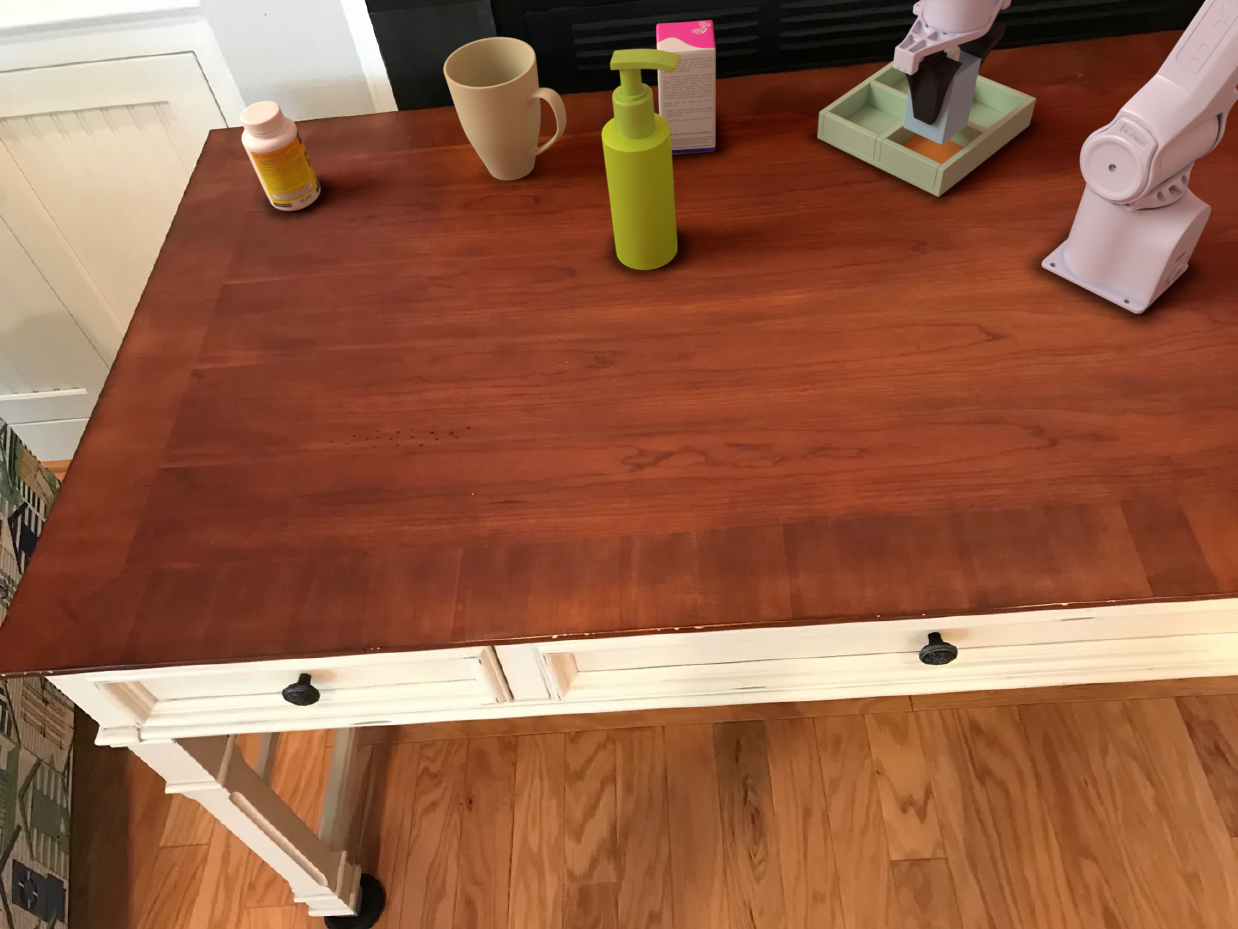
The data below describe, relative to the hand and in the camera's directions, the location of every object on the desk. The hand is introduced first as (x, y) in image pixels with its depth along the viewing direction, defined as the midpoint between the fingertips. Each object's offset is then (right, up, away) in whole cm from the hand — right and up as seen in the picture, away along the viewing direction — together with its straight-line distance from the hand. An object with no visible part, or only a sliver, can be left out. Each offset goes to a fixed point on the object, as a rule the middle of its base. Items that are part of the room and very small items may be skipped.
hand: (939, 108), depth 93 cm
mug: (-41, -3, +11) cm, 42 cm away
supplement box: (-23, +1, +11) cm, 26 cm away
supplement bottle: (-65, -5, +12) cm, 66 cm away
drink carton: (0, -1, +2) cm, 2 cm away
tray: (+1, 0, +8) cm, 8 cm away
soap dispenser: (-27, -13, +1) cm, 30 cm away
